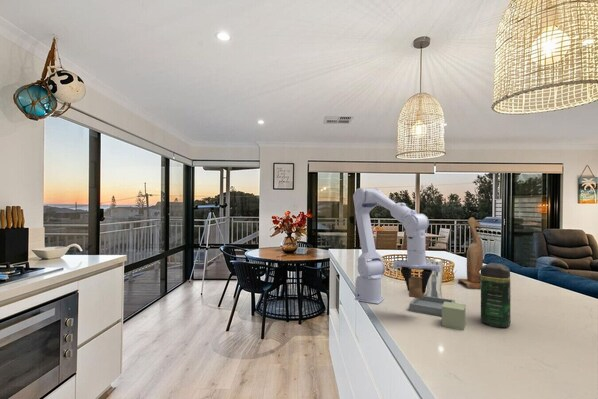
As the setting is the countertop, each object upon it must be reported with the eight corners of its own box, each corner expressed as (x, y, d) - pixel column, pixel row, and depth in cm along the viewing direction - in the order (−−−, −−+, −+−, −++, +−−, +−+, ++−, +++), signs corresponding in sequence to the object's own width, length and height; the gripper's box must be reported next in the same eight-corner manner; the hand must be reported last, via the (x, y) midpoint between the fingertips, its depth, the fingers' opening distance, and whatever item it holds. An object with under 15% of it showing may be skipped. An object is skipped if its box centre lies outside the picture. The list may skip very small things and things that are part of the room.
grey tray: (409, 310, 107) (409, 303, 107) (417, 301, 118) (417, 294, 118) (450, 318, 100) (450, 310, 100) (454, 307, 111) (454, 300, 111)
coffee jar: (509, 330, 90) (508, 267, 90) (478, 324, 95) (477, 264, 95) (512, 321, 97) (511, 263, 98) (483, 315, 102) (483, 260, 103)
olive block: (442, 326, 93) (441, 306, 94) (444, 319, 98) (444, 301, 99) (464, 330, 90) (463, 310, 90) (465, 323, 95) (465, 304, 95)
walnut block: (408, 296, 100) (408, 278, 100) (411, 293, 103) (411, 276, 103) (421, 298, 98) (421, 280, 98) (424, 295, 101) (424, 277, 101)
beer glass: (445, 299, 119) (445, 261, 119) (426, 298, 121) (426, 261, 121) (441, 294, 126) (440, 258, 126) (423, 293, 127) (422, 258, 128)
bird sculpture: (494, 290, 134) (495, 218, 135) (467, 289, 135) (468, 217, 136) (481, 284, 145) (481, 217, 146) (455, 283, 146) (456, 216, 147)
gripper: (390, 249, 101) (391, 290, 101) (438, 253, 93) (438, 297, 93) (396, 247, 107) (396, 286, 107) (441, 250, 99) (441, 292, 99)
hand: (416, 291), depth 100 cm, fingers closed on walnut block, 4 cm apart
